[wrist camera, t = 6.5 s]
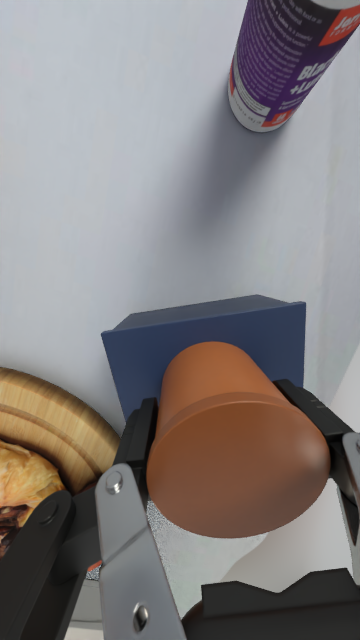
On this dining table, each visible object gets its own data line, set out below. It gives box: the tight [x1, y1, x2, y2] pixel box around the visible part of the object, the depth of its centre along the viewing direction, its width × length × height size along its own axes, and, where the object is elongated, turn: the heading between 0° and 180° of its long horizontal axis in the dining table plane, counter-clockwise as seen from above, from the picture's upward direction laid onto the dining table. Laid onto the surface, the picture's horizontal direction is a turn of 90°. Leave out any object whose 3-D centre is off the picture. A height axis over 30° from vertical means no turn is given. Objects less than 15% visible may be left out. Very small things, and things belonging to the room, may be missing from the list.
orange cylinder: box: [146, 341, 330, 538], centre depth 9 cm, size 7×7×6 cm
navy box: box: [101, 295, 306, 423], centre depth 15 cm, size 12×9×6 cm
